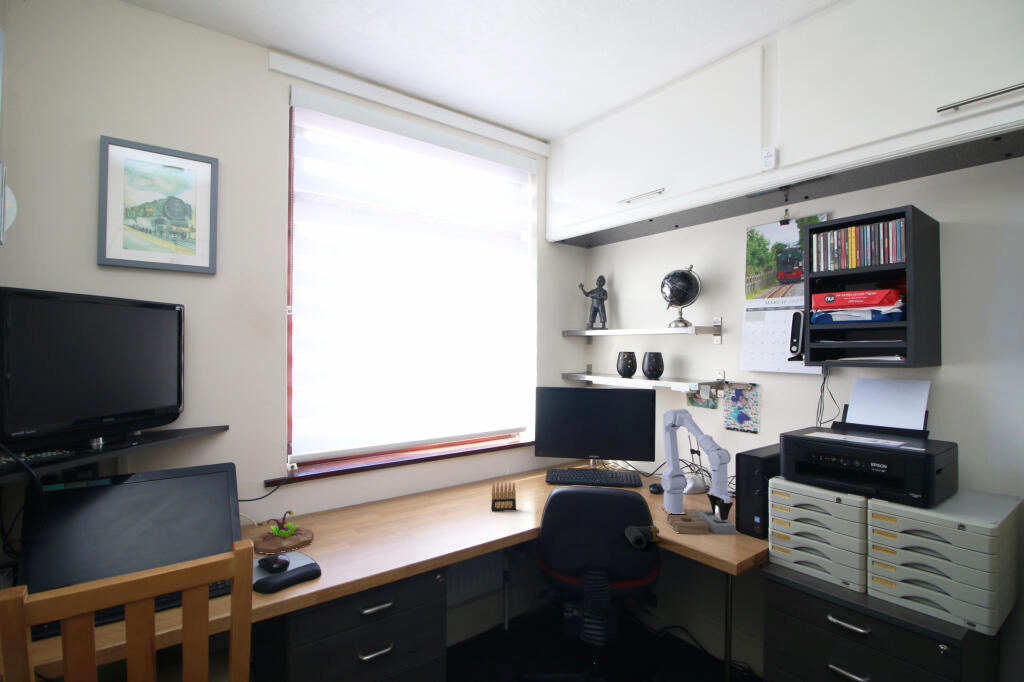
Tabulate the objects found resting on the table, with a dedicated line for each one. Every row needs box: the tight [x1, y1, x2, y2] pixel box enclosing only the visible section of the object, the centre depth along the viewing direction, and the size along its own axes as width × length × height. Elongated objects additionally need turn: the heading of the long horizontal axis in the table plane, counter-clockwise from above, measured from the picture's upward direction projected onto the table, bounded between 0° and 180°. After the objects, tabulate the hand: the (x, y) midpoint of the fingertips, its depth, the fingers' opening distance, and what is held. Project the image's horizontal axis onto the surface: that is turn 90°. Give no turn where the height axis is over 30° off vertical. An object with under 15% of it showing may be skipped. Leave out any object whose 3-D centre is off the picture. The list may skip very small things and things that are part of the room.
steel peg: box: [715, 505, 724, 523], centre depth 190 cm, size 3×3×9 cm
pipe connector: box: [624, 525, 660, 550], centre depth 179 cm, size 12×5×15 cm
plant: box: [250, 510, 315, 554], centre depth 177 cm, size 20×20×11 cm
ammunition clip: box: [490, 481, 517, 512], centre depth 214 cm, size 11×2×12 cm, turn 98°
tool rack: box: [696, 509, 737, 535], centre depth 195 cm, size 18×8×3 cm, turn 0°
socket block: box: [666, 514, 710, 534], centre depth 192 cm, size 12×12×3 cm
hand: (719, 516), depth 190 cm, fingers open, 7 cm apart
